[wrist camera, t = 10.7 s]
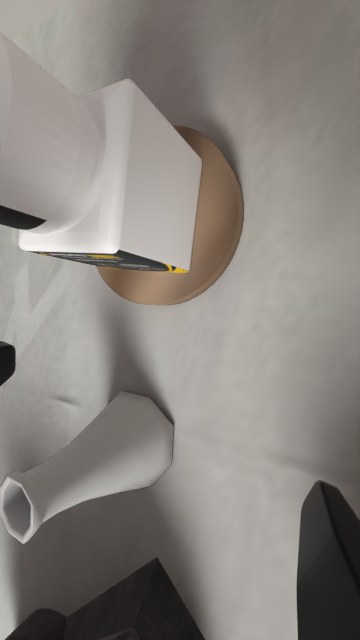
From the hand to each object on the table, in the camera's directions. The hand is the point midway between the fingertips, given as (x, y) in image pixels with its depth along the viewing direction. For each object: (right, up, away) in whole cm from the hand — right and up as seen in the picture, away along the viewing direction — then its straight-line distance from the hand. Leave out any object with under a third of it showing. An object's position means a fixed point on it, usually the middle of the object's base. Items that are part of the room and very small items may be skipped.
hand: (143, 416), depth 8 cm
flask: (-2, -7, +15) cm, 17 cm away
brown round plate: (0, +10, +14) cm, 17 cm away
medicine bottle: (-1, +10, +12) cm, 15 cm away
